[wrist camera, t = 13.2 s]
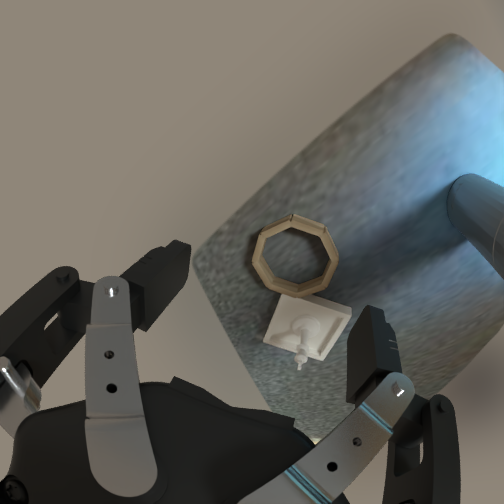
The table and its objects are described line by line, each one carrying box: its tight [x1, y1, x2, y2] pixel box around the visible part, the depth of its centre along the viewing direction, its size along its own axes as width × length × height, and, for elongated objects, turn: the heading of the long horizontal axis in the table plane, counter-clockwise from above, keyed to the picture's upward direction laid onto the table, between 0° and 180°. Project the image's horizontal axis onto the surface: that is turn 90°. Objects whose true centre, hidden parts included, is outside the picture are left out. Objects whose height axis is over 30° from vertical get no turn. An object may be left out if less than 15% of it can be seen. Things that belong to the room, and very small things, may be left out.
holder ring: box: [252, 214, 339, 298], centre depth 40 cm, size 12×12×2 cm
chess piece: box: [292, 315, 320, 370], centre depth 41 cm, size 5×5×10 cm
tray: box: [263, 294, 352, 361], centre depth 46 cm, size 12×12×2 cm
